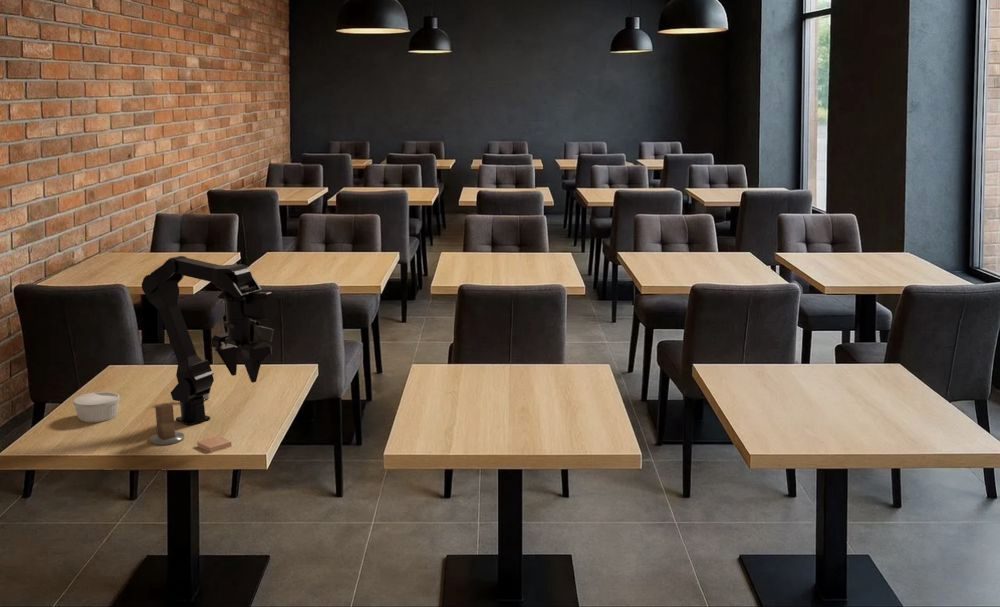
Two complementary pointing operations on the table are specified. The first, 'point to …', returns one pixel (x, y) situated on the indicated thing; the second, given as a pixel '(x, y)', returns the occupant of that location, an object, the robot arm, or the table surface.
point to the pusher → (165, 421)
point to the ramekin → (97, 406)
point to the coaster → (176, 439)
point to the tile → (214, 444)
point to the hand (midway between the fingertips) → (243, 378)
